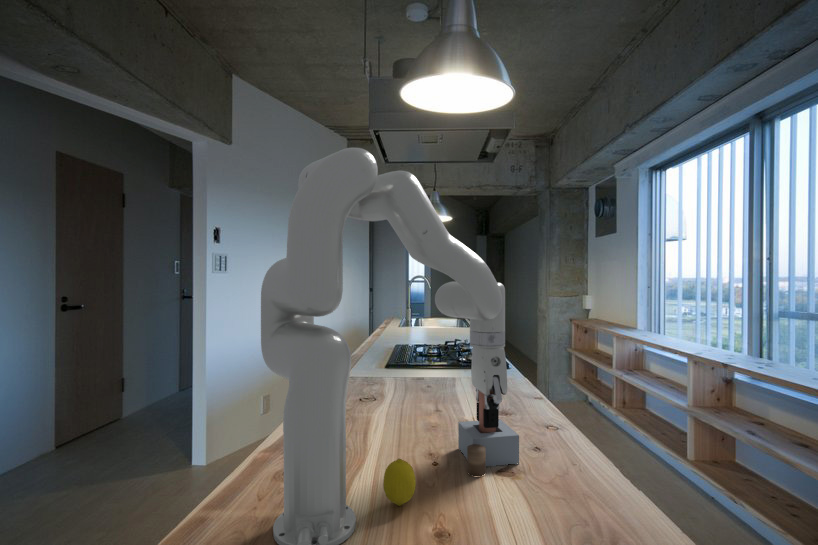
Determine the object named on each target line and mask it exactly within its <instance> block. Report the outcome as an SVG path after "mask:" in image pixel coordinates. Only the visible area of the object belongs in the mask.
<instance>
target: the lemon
mask: <svg viewBox="0 0 818 545" xmlns="http://www.w3.org/2000/svg"><path fill="white" fill-rule="evenodd" d="M382 481H383V483H382V484H383V491H384V494H385V496H386V498H387V499H388V500H389V501H390V502H391V503H393V504H396V506H399V507H401V506H403V505H404V504H406V503H408V502H409V501H410V500H411V499H412V498H413V496H414V494H415V491H416V488H417V487H416V485H417V484H416V482H417V481H416V474H415V472H414V469H413V467H412V465H411V464H410V463H409V462H408V461H406V460H404V459H402V458H397V459H396V460H394V461H392V462H391V463H389V464H388V465H387V467H386V468H385V471H384V475H383V480H382Z"/></svg>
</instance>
